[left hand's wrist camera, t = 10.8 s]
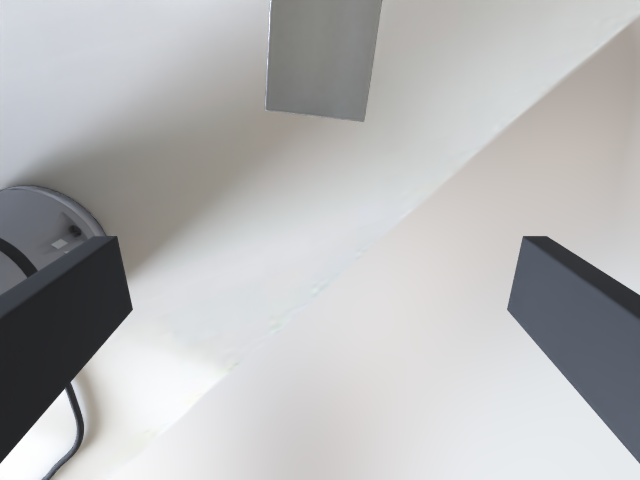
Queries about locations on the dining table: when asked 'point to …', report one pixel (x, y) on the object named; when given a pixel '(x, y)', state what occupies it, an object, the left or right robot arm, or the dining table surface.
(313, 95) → the bar
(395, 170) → the dining table surface
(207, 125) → the dining table surface
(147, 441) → the dining table surface
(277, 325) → the dining table surface
